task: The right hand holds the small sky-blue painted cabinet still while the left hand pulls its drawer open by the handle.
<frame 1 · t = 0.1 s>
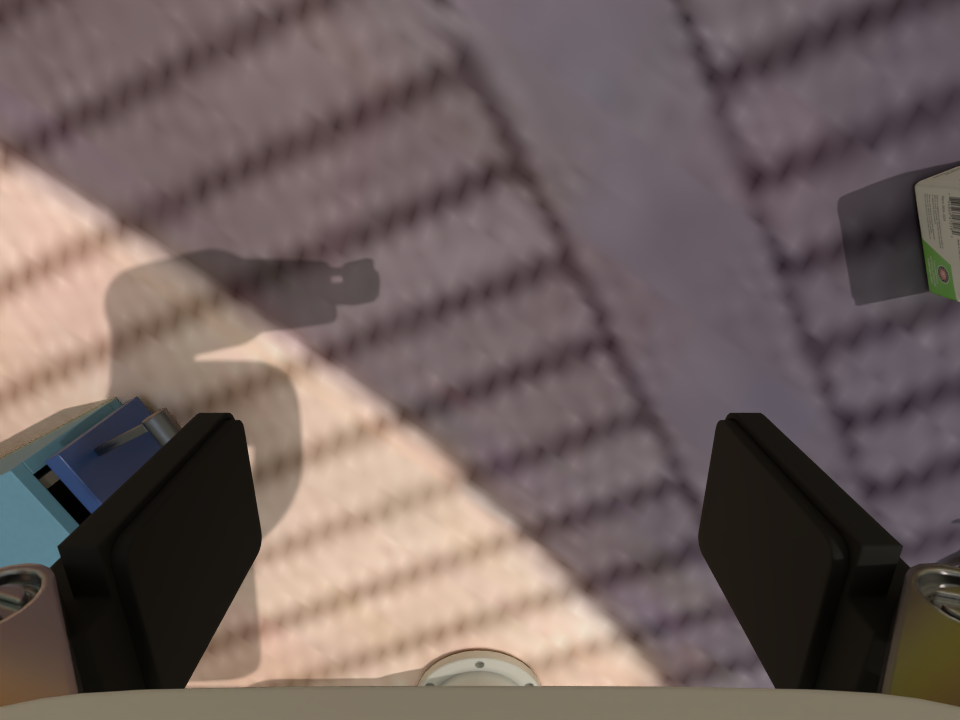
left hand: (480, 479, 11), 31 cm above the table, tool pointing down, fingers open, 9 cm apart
ink box: (952, 226, 40), on the table
cabinet: (94, 484, 48), on the table
drawer: (110, 493, 42), point 5 cm above the table, slide at 1.2 cm
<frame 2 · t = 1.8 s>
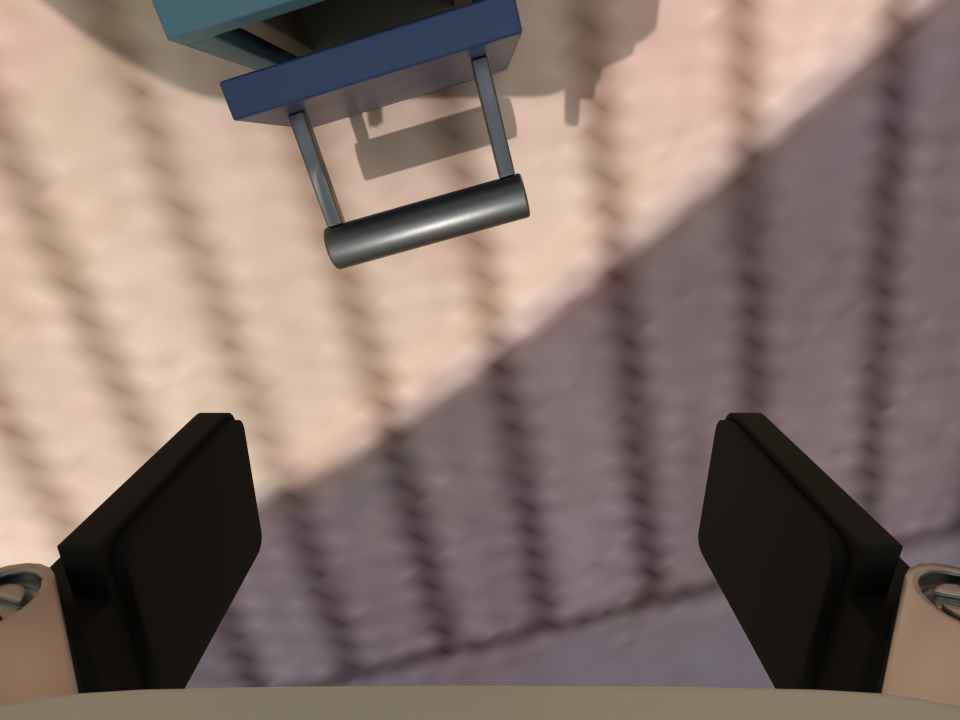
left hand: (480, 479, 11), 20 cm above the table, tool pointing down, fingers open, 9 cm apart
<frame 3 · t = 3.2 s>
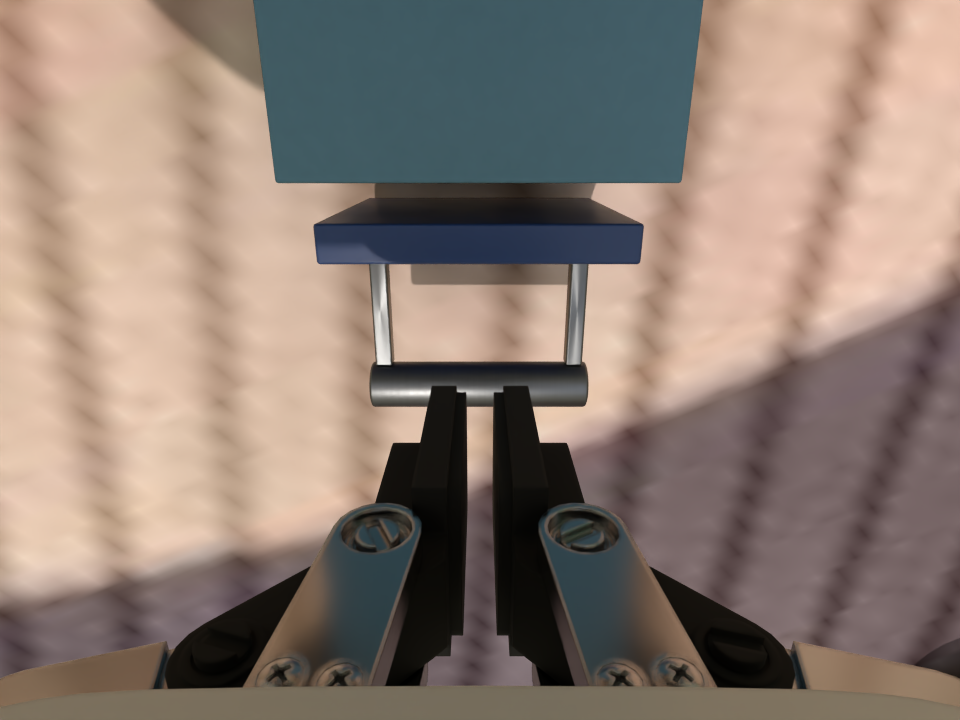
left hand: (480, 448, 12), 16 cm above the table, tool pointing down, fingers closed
drawer: (478, 145, 20), point 5 cm above the table, slide at 1.2 cm
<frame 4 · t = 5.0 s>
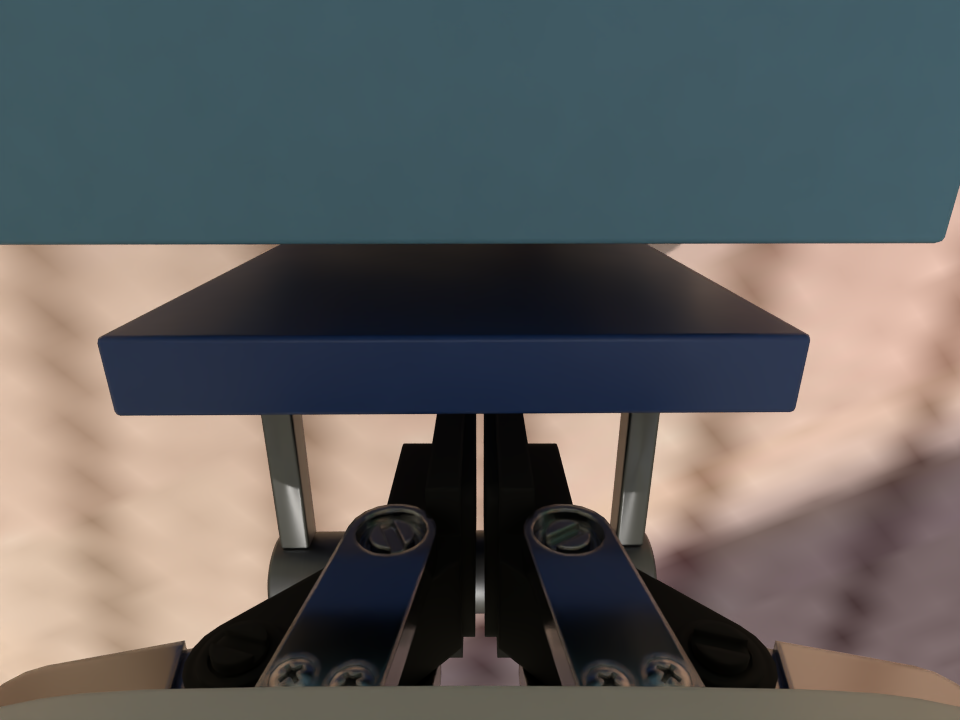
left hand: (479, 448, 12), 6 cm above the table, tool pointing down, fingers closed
drawer: (460, 160, 11), point 5 cm above the table, slide at 1.4 cm
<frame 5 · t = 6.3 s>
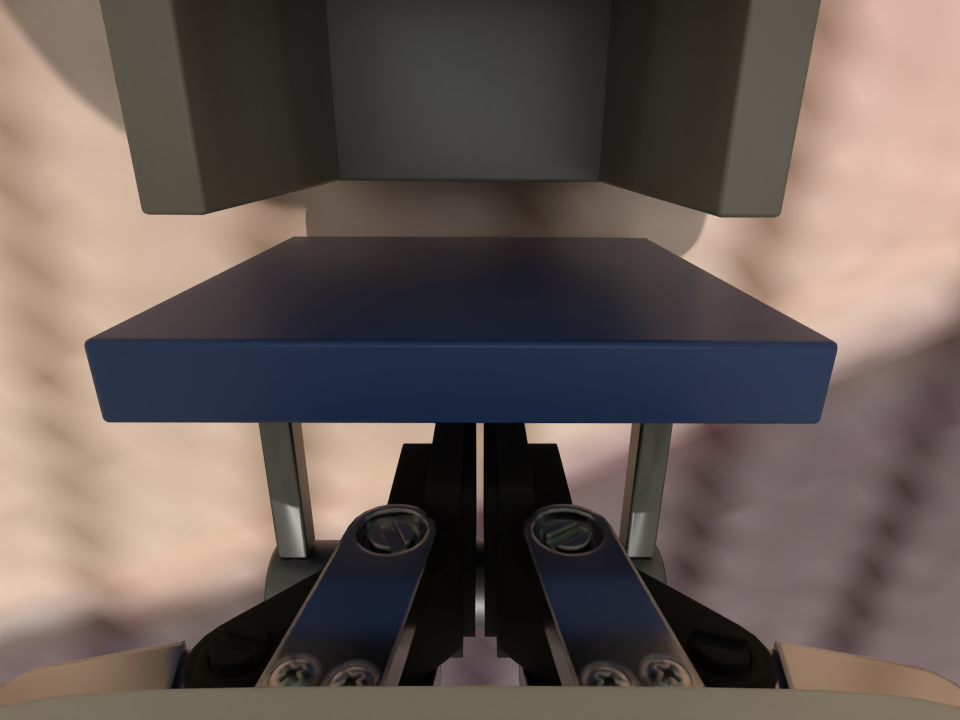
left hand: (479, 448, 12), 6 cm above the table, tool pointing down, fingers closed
drawer: (467, 156, 11), point 5 cm above the table, slide at 6.9 cm, touching left hand
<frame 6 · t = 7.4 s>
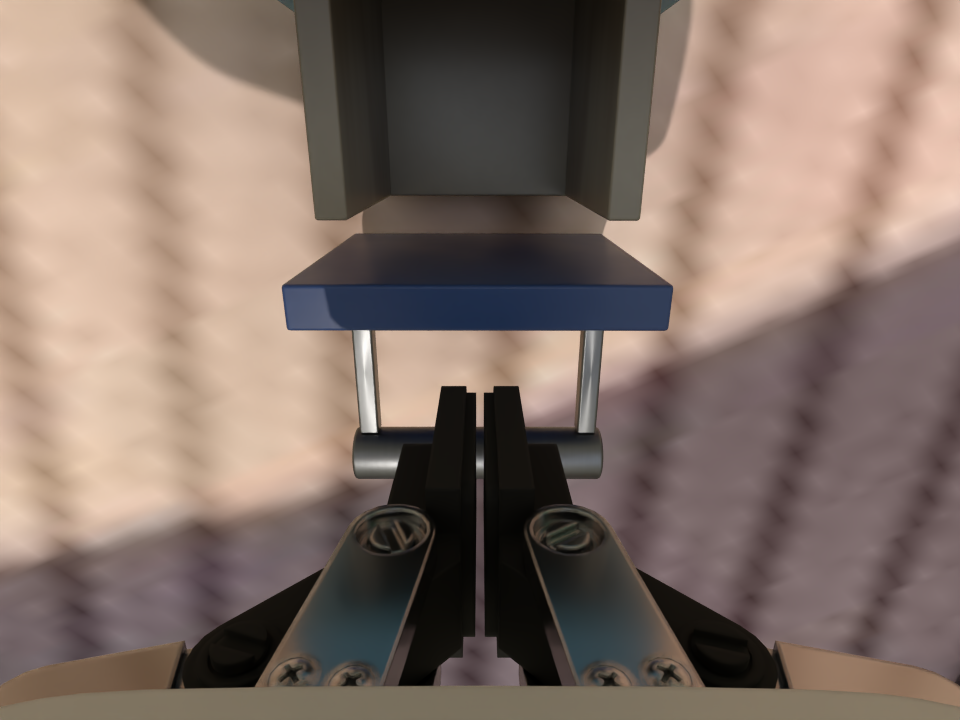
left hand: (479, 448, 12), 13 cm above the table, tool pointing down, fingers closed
drawer: (478, 183, 17), point 5 cm above the table, slide at 6.9 cm
when the right hand's fingers open (6 cm above the table, at t = 7.9 s): cabinet stays where it is, on the table.
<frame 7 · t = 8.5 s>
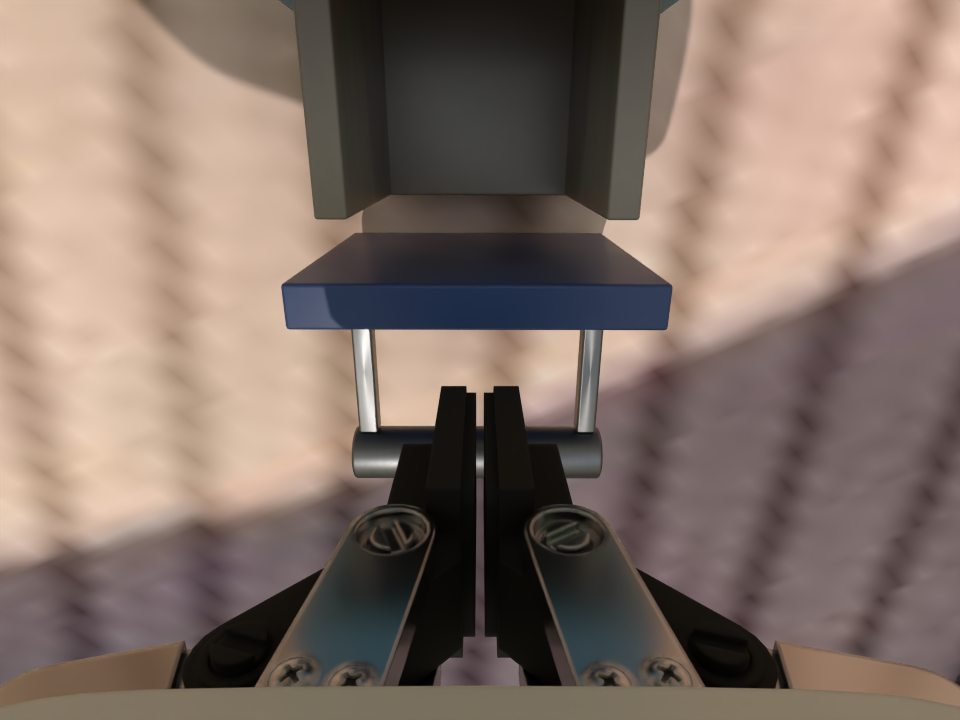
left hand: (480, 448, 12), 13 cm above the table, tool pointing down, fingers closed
drawer: (477, 182, 17), point 5 cm above the table, slide at 6.9 cm
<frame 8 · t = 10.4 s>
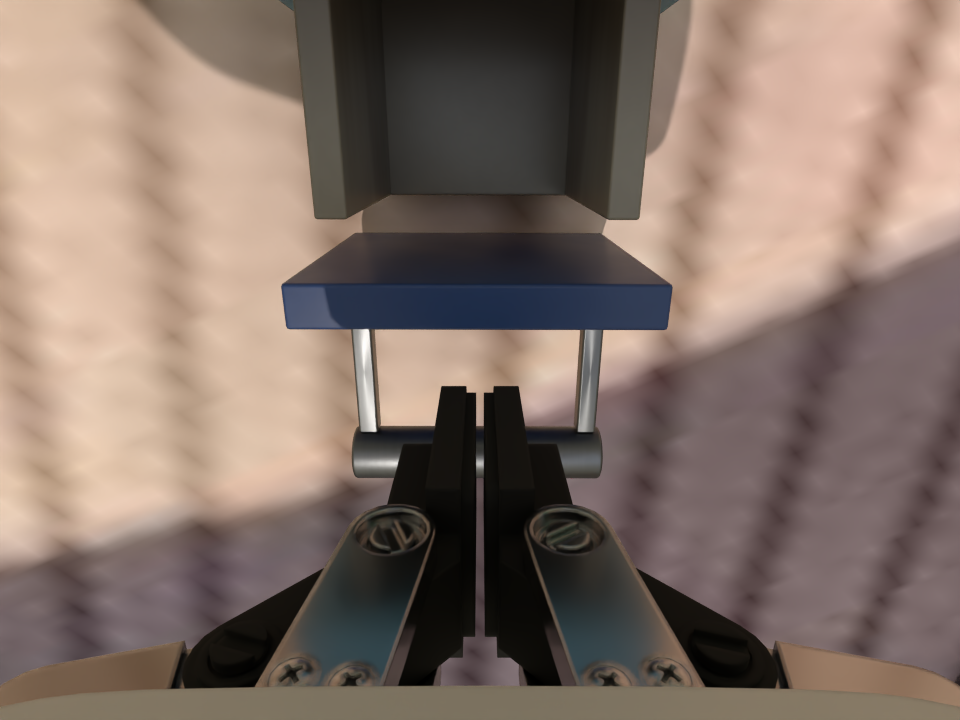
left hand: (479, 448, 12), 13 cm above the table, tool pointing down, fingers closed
drawer: (477, 182, 17), point 5 cm above the table, slide at 6.9 cm
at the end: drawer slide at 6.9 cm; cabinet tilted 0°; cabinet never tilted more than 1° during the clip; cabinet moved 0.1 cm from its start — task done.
